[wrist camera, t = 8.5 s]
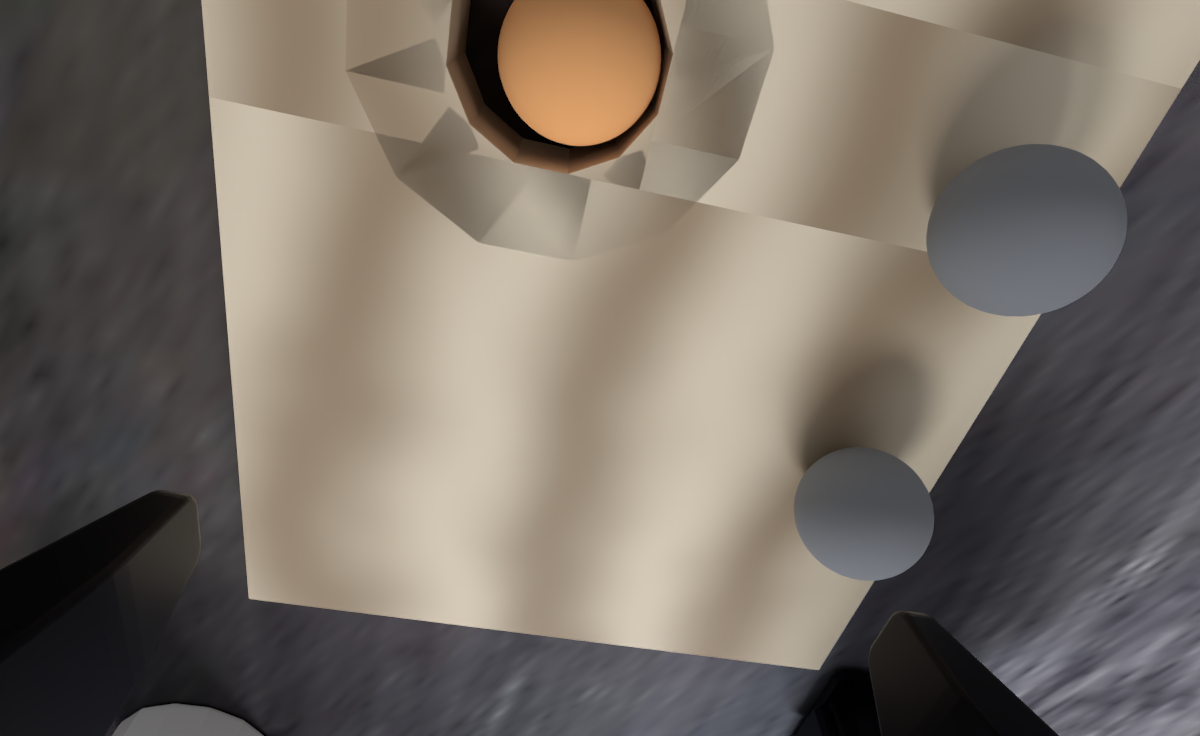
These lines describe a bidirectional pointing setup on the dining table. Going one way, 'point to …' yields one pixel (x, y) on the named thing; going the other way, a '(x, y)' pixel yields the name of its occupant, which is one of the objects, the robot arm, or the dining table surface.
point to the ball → (579, 66)
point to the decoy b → (1026, 230)
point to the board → (622, 298)
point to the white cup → (183, 722)
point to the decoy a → (864, 513)
